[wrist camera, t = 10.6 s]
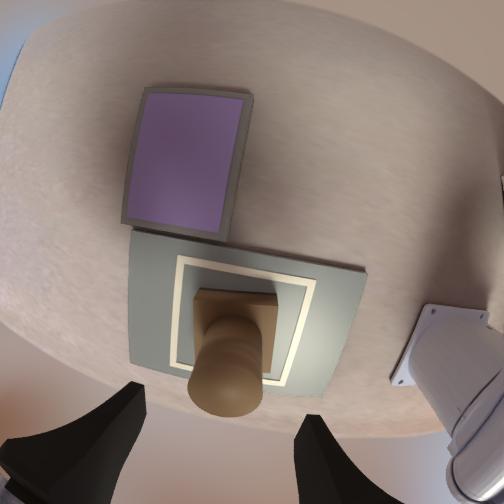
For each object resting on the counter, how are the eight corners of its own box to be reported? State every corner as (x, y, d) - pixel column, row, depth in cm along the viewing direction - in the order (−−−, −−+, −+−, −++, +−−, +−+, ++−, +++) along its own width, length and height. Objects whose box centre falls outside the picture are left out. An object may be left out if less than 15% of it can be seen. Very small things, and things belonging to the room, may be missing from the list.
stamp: (276, 293, 18) (285, 355, 11) (269, 356, 19) (272, 428, 12) (199, 287, 18) (167, 344, 11) (200, 350, 19) (177, 419, 12)
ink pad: (254, 100, 15) (253, 93, 14) (228, 238, 17) (225, 243, 16) (151, 92, 15) (143, 86, 14) (128, 220, 17) (119, 223, 16)
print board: (365, 271, 18) (368, 274, 17) (321, 393, 20) (322, 398, 20) (134, 229, 17) (130, 230, 17) (132, 359, 20) (129, 363, 19)
